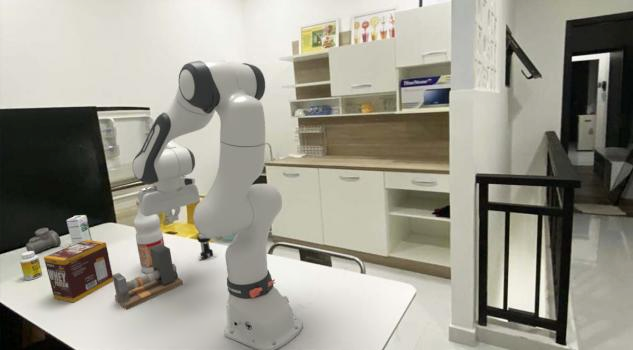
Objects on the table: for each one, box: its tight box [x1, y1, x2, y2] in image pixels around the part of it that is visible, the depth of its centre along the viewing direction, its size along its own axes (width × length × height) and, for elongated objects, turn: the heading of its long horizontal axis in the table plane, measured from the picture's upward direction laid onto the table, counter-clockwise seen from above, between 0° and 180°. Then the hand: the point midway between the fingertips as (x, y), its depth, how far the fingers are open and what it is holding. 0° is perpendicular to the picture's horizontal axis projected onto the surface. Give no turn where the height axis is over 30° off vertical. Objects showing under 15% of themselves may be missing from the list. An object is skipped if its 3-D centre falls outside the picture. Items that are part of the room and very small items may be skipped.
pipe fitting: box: [25, 227, 62, 255], centre depth 164 cm, size 12×8×10 cm, turn 151°
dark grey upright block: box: [150, 244, 175, 285], centre depth 123 cm, size 7×4×12 cm, turn 48°
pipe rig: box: [112, 263, 184, 311], centre depth 120 cm, size 10×19×10 cm, turn 138°
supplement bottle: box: [19, 251, 43, 281], centre depth 136 cm, size 6×6×10 cm
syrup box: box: [66, 214, 93, 245], centre depth 165 cm, size 6×6×14 cm
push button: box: [196, 233, 214, 261], centre depth 144 cm, size 7×5×10 cm
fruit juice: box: [133, 199, 166, 274], centre depth 136 cm, size 9×9×28 cm
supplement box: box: [43, 240, 114, 303], centre depth 124 cm, size 10×15×16 cm
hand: (173, 220), depth 125 cm, fingers closed
